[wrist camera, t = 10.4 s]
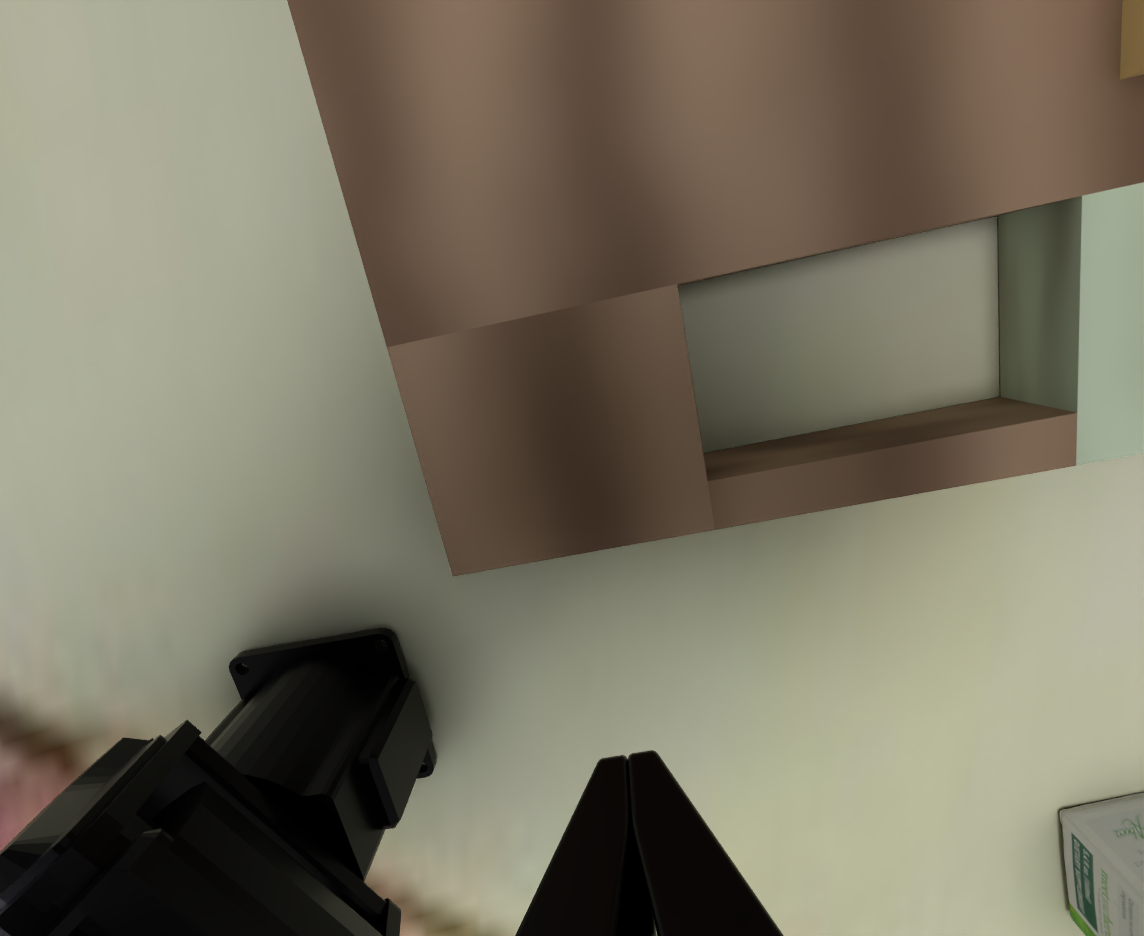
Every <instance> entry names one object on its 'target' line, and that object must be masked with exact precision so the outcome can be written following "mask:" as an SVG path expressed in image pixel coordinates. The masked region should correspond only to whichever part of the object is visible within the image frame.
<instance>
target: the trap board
mask: <svg viewBox="0 0 1144 936" xmlns="http://www.w3.org/2000/svg"><path fill="white" fill-rule="evenodd" d="M287 1H288V5H289V8H290V11H291V15H292V18H293V22H294V25H295V29H296V32H297V36H298V39H299V43H300V46H301V50H302V53H303V57H304V60H305V64H306V67H307V71H308V74H309V78H310V81H311V85H312V88H313V91H314V95H315V98H316V102H317V105H318V109H319V112H320V116H321V119H322V123H323V126H324V130H325V133H326V137H327V140H328V144H329V147H330V151H331V154H332V158H333V161H334V164H335V168H336V171H337V175H338V178H339V182H340V185H341V189H342V192H343V196H344V199H345V203H346V206H347V210H348V213H349V217H350V220H351V224H352V227H353V231H354V234H355V237H356V241H357V244H358V248H359V251H360V255H361V258H362V262H363V265H364V269H365V272H366V276H367V279H368V283H369V286H370V290H371V293H372V297H373V300H374V304H375V307H376V311H377V314H378V317H379V321H380V324H381V328H382V331H383V335H384V338H385V342H386V345H387V349H388V352H389V356H390V359H391V363H392V366H393V370H394V373H395V377H396V380H397V384H398V387H399V390H400V394H401V397H402V401H403V404H404V408H405V411H406V415H407V418H408V422H409V425H410V429H411V432H412V436H413V439H414V443H415V446H416V450H417V453H418V457H419V460H420V463H421V467H422V470H423V474H424V477H425V481H426V484H427V488H428V491H429V495H430V498H431V502H432V505H433V509H434V512H435V516H436V519H437V523H438V526H439V530H440V533H441V537H442V540H443V543H444V547H445V550H446V554H447V557H448V561H449V564H450V568H451V571H452V575H453V576H457V575H463V574H468V573H474V572H480V571H485V570H491V569H496V568H502V567H508V566H513V565H519V564H525V563H530V562H536V561H541V560H547V559H553V558H558V557H564V556H570V555H575V554H581V553H586V552H592V551H598V550H603V549H609V548H615V547H620V546H626V545H631V544H637V543H643V542H648V541H654V540H660V539H665V538H671V537H676V536H682V535H688V534H693V533H699V532H705V531H710V530H716V529H721V528H727V527H733V526H738V525H744V524H750V523H755V522H761V521H766V520H772V519H778V518H783V517H789V516H795V515H800V514H806V513H811V512H817V511H823V510H828V509H834V508H840V507H845V506H851V505H856V504H862V503H868V502H873V501H879V500H885V499H890V498H896V497H902V496H907V495H913V494H918V493H924V492H930V491H935V490H941V489H947V488H952V487H958V486H963V485H969V484H975V483H980V482H986V481H992V480H997V479H1003V478H1008V477H1014V476H1020V475H1025V474H1031V473H1037V472H1042V471H1048V470H1053V469H1059V468H1065V467H1070V466H1076V465H1082V464H1087V463H1093V462H1098V461H1104V460H1110V459H1115V458H1121V457H1127V456H1132V455H1138V454H1143V453H1144V74H1143V75H1138V76H1134V77H1130V78H1126V79H1122V80H1120V62H1121V32H1122V2H1123V0H287ZM994 216H998V242H999V318H1000V395H1001V397H997V398H992V399H986V400H981V401H976V402H971V403H965V404H960V405H955V406H950V407H944V408H939V409H934V410H929V411H923V412H918V413H913V414H908V415H902V416H897V417H892V418H887V419H881V420H876V421H871V422H866V423H860V424H855V425H850V426H845V427H839V428H834V429H829V430H824V431H818V432H813V433H808V434H802V435H797V436H792V437H787V438H781V439H776V440H771V441H766V442H760V443H755V444H750V445H745V446H739V447H734V448H729V449H724V450H718V451H713V452H708V453H703V449H702V442H701V436H700V429H699V423H698V416H697V409H696V403H695V396H694V390H693V383H692V377H691V370H690V364H689V357H688V351H687V344H686V338H685V331H684V325H683V318H682V312H681V305H680V299H679V292H678V285H682V284H687V283H691V282H696V281H701V280H705V279H710V278H714V277H719V276H724V275H728V274H733V273H737V272H742V271H746V270H751V269H756V268H760V267H765V266H769V265H774V264H779V263H783V262H788V261H792V260H797V259H802V258H806V257H811V256H815V255H820V254H825V253H829V252H834V251H838V250H843V249H847V248H852V247H857V246H861V245H866V244H870V243H875V242H880V241H884V240H889V239H893V238H898V237H903V236H907V235H912V234H916V233H921V232H926V231H930V230H935V229H939V228H944V227H949V226H953V225H958V224H962V223H967V222H971V221H976V220H981V219H985V218H990V217H994Z"/></svg>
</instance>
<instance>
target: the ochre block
mask: <svg viewBox="0 0 1144 936" xmlns="http://www.w3.org/2000/svg"><path fill="white" fill-rule="evenodd" d="M1143 74H1144V0H1123V2H1122V32H1121V62H1120V80H1122V79H1126V78H1130V77H1134V76H1138V75H1143Z"/></svg>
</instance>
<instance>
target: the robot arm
mask: <svg viewBox="0 0 1144 936" xmlns="http://www.w3.org/2000/svg"><path fill="white" fill-rule="evenodd" d="M378 640H383V641H385V642H386V644H387V646H383V645H381V644H380V643H379V642H378ZM242 663H243V664H245V665H247V667H248V668H246V667H244V666H243V664H242ZM229 670H230V673H231V675H232V678H233V680H234V682H235V685H236V687H237V690H238V692H239V694H240V697H241V699H242V700H241V701H240V702H239V704H238V705H237V706H236V707H235V708H234V709H233V710H232V711H231V712H230V713H229V715H228V716H227V717H226V718H225V719H224V720H223V721H222V722H221V723H220V725H219V726H218V727H217V728H216V729H215V730H214V731H213V732H212V733H211V734H210V736H209V737H208V738H207V739H206V740H205V741H204V740H203V739H202V738H201V737H200V736H199V735H200V734H201V732H200V731H199V730H198V729H197V728H196V727H195V726H194V725H193V724H191V723H190V722H189V721H188V720H186V721H185V722H183V723H182V724H181V725H180V726H178V727H177V728H176V729H175V730H173V731H172V732H171V733H170V734H168V735H167V736H166V737H165V738H164V737H162V736H161V735H159V736H158V737H157V738H155V739H153V738H152V739H150V740H140V739H131V738H122V739H121V740H120V741H119V742H118V743H116V744H115V745H114V746H113V747H111V748H110V749H109V750H108V751H107V752H106V753H105V754H104V755H102V756H101V757H100V758H99V759H98V760H97V761H96V762H95V763H94V764H92V765H91V766H90V767H89V768H88V769H87V770H86V771H85V772H84V773H83V774H81V775H80V776H79V777H78V778H77V779H76V780H75V781H74V782H73V783H71V784H70V785H69V786H68V787H67V788H66V789H65V790H64V791H63V792H62V793H61V794H59V795H58V796H57V797H56V798H55V799H54V800H53V801H52V802H51V803H50V804H49V805H48V806H47V807H45V808H44V809H43V810H42V811H41V812H40V813H39V814H38V815H37V816H36V817H35V818H34V819H33V820H32V821H31V822H30V823H29V824H28V825H27V826H26V827H25V828H24V829H23V830H22V831H21V832H20V833H19V834H18V835H17V836H16V837H15V838H14V839H13V840H12V841H11V842H10V843H9V844H8V845H7V846H6V847H5V848H4V849H3V850H2V851H1V852H0V936H399V935H400V922H401V909H400V908H399V907H398V906H396V905H395V904H394V903H393V902H392V901H391V900H390V899H388V898H387V899H385V900H384V899H383V898H382V897H380V896H379V895H378V894H377V893H376V892H375V891H374V890H372V889H371V888H370V887H369V886H368V885H367V884H366V883H365V882H364V881H365V878H366V876H367V874H368V871H369V869H370V866H371V864H372V861H373V859H374V856H375V854H376V851H377V849H378V846H379V844H380V841H381V839H382V836H383V834H384V831H385V829H390V828H395V827H396V825H397V824H398V822H399V821H400V820H401V817H402V815H403V812H404V809H405V807H406V804H407V802H408V799H409V796H410V794H411V791H412V788H413V786H414V783H415V781H416V779H418V778H425V777H428V776H430V775H431V774H432V773H433V770H434V768H435V765H436V762H437V761H436V756H435V753H434V749H433V746H432V743H431V739H432V735H433V734H432V730H431V727H430V724H429V721H428V718H427V715H426V711H425V708H424V705H423V702H422V699H421V696H420V693H419V690H418V687H417V684H416V682H415V681H414V680H413V679H412V678H410V676H409V673H408V670H407V667H406V663H405V660H404V657H403V654H402V651H401V648H400V645H399V642H398V639H397V637H396V635H395V633H394V632H392V631H391V630H389V629H387V628H378V629H372V630H366V631H361V632H355V633H349V634H343V635H337V636H331V637H326V638H320V639H314V640H308V641H302V642H296V643H291V644H285V645H279V646H273V647H267V648H261V649H256V650H250V651H244V652H241V653H239V654H238V655H237V656H236V657H235V658H234V659H233V660H232V661H231V662H230V665H229ZM422 762H424V763H425V764H426V765H423V764H422ZM656 931H657V935H656ZM515 936H784V935H783V934H782V933H781V931H780V930H779V928H778V927H777V925H776V924H775V922H774V921H773V919H772V918H771V917H770V915H769V914H768V912H767V911H766V909H765V908H764V906H763V905H762V904H761V902H760V901H759V899H758V898H757V896H756V895H755V893H754V892H753V891H752V889H751V888H750V886H749V885H748V883H747V882H746V880H745V879H744V878H743V876H742V875H741V873H740V872H739V870H738V869H737V867H736V866H735V865H734V863H733V862H732V860H731V859H730V857H729V856H728V854H727V853H726V852H725V850H724V849H723V847H722V846H721V844H720V843H719V841H718V840H717V839H716V837H715V836H714V834H713V833H712V831H711V830H710V828H709V827H708V826H707V824H706V823H705V821H704V820H703V818H702V817H701V815H700V814H699V813H698V811H697V810H696V808H695V807H694V805H693V804H692V802H691V801H690V800H689V798H688V797H687V795H686V794H685V792H684V791H683V789H682V788H681V786H680V785H679V784H678V782H677V781H676V779H675V778H674V776H673V775H672V773H671V772H670V771H669V769H668V768H667V766H666V765H665V763H664V762H663V760H662V759H661V758H660V756H659V755H658V754H657V753H656V752H655V751H653V750H651V751H645V752H638V753H632V754H630V755H629V757H628V759H627V757H626V756H624V755H620V756H614V757H608V758H602V759H600V760H599V761H598V763H597V765H596V767H595V769H594V771H593V773H592V775H591V778H590V780H589V782H588V784H587V786H586V788H585V790H584V792H583V794H582V796H581V799H580V801H579V803H578V805H577V807H576V809H575V811H574V813H573V815H572V817H571V820H570V822H569V824H568V826H567V828H566V830H565V832H564V834H563V836H562V839H561V841H560V843H559V845H558V847H557V849H556V851H555V853H554V855H553V857H552V860H551V862H550V864H549V866H548V868H547V870H546V872H545V874H544V876H543V878H542V881H541V883H540V885H539V887H538V889H537V891H536V893H535V895H534V897H533V900H532V902H531V904H530V906H529V908H528V910H527V912H526V914H525V916H524V918H523V921H522V923H521V925H520V927H519V929H518V931H517V933H516V935H515Z"/></svg>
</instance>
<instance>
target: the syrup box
mask: <svg viewBox="0 0 1144 936" xmlns="http://www.w3.org/2000/svg"><path fill="white" fill-rule="evenodd" d="M1059 814H1060V822H1061V824H1062V825H1063V839H1064V859H1065V868H1066V878H1067V888H1068V897H1069V903H1070V915H1071V918H1072V919H1073V921H1074V922H1075V923H1076V924H1077V926H1078V927H1079V928H1080V929H1081V930H1082V931H1083V933H1084V934H1085V935H1086V936H1144V793H1139V794H1133V795H1128V796H1124V797H1119V798H1114V799H1110V800H1105V801H1101V802H1096V803H1091V804H1086V805H1082V806H1078V807H1073V808H1070V809H1063V810H1061V811H1060V813H1059Z"/></svg>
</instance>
